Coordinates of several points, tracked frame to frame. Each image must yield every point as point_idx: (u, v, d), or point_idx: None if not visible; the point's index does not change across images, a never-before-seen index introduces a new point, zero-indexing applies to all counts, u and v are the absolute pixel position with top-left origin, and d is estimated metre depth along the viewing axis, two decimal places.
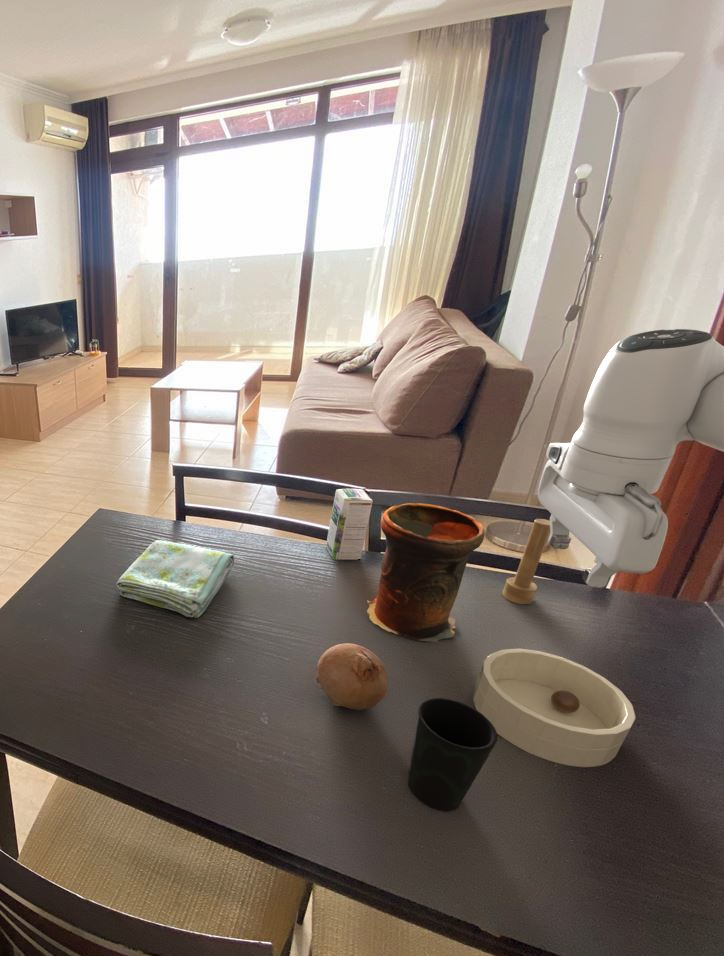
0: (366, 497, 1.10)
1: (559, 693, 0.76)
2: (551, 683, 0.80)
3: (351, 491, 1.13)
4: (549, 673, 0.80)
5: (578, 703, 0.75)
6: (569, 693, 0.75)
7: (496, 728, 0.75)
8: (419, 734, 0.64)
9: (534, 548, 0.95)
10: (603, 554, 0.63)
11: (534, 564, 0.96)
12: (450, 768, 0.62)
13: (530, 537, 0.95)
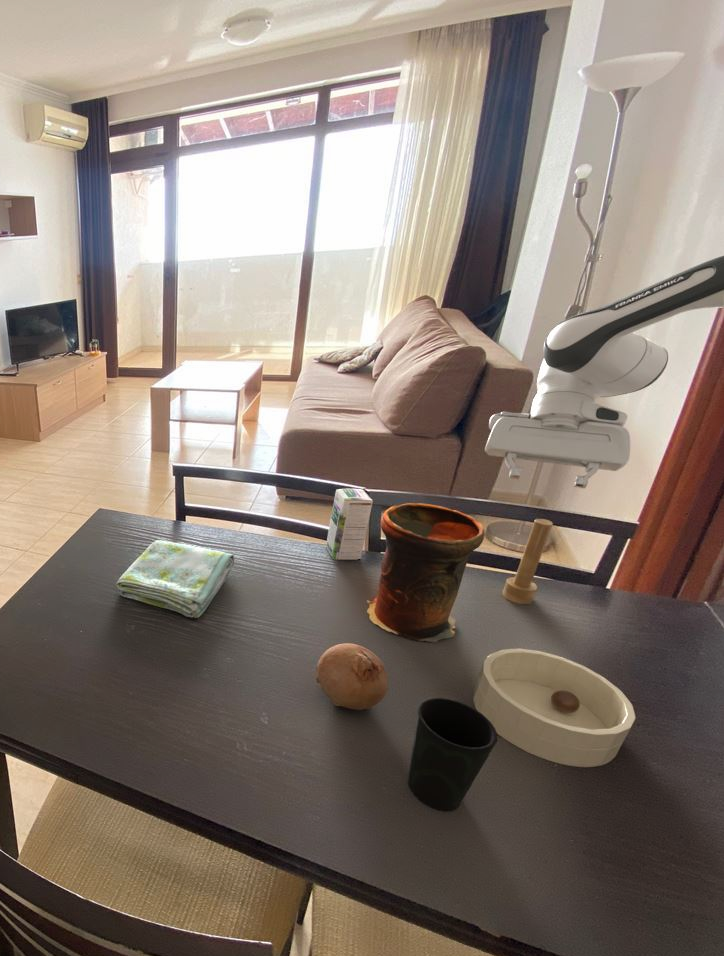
0: (366, 497, 1.10)
1: (559, 693, 0.76)
2: (551, 683, 0.80)
3: (351, 491, 1.13)
4: (549, 673, 0.80)
5: (578, 703, 0.75)
6: (569, 693, 0.75)
7: (496, 728, 0.75)
8: (419, 734, 0.64)
9: (534, 548, 0.95)
10: None
11: (534, 564, 0.96)
12: (450, 768, 0.62)
13: (530, 537, 0.95)
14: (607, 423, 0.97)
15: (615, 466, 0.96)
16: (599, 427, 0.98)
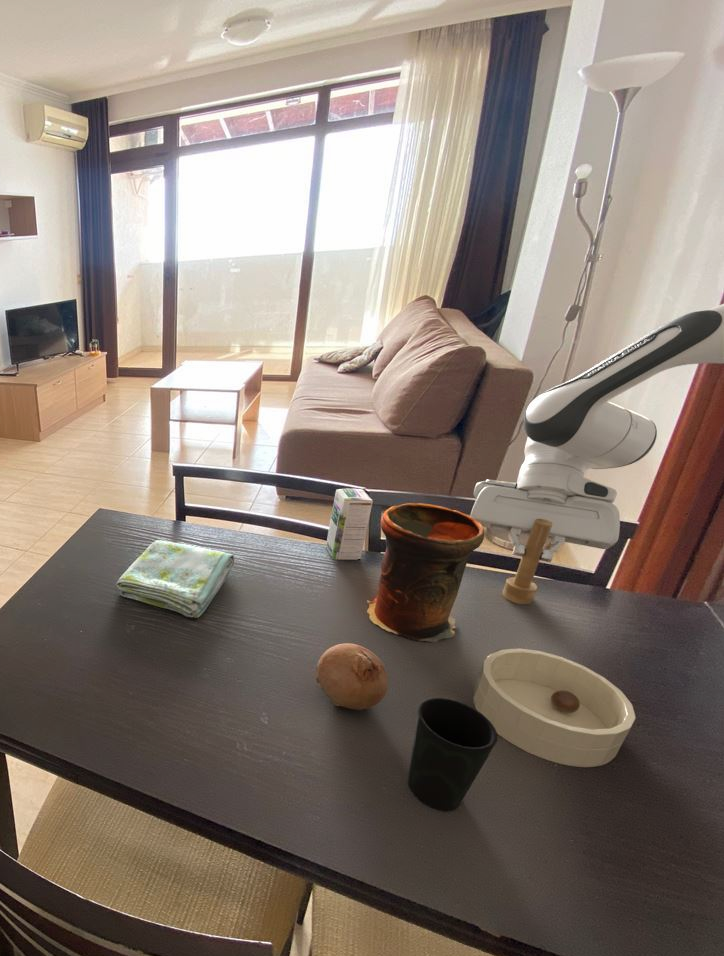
0: (366, 497, 1.10)
1: (559, 693, 0.76)
2: (551, 683, 0.80)
3: (351, 491, 1.13)
4: (549, 673, 0.80)
5: (578, 703, 0.75)
6: (569, 693, 0.75)
7: (496, 728, 0.75)
8: (419, 734, 0.64)
9: (534, 547, 0.95)
10: None
11: (534, 564, 0.96)
12: (450, 768, 0.62)
13: (530, 537, 0.95)
14: (596, 499, 0.93)
15: (604, 545, 0.92)
16: (587, 503, 0.93)
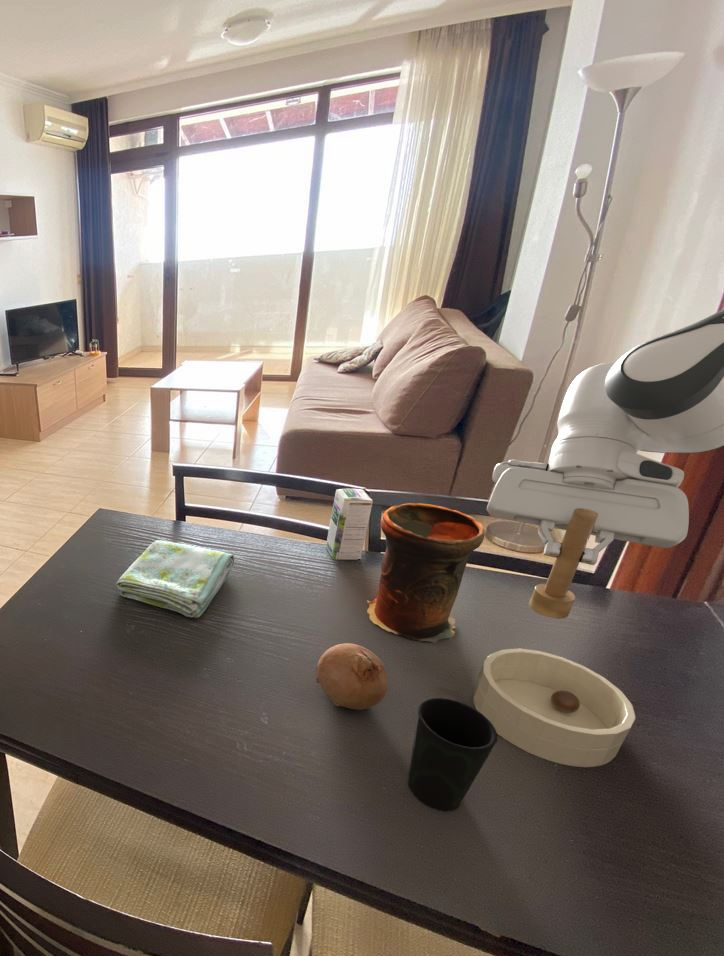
0: (366, 497, 1.10)
1: (559, 693, 0.76)
2: (551, 683, 0.80)
3: (351, 491, 1.13)
4: (549, 673, 0.80)
5: (578, 703, 0.75)
6: (569, 693, 0.75)
7: (496, 728, 0.75)
8: (419, 734, 0.64)
9: (573, 546, 0.73)
10: None
11: (572, 567, 0.74)
12: (450, 768, 0.62)
13: (567, 532, 0.73)
14: (655, 483, 0.71)
15: (667, 543, 0.70)
16: (644, 488, 0.71)
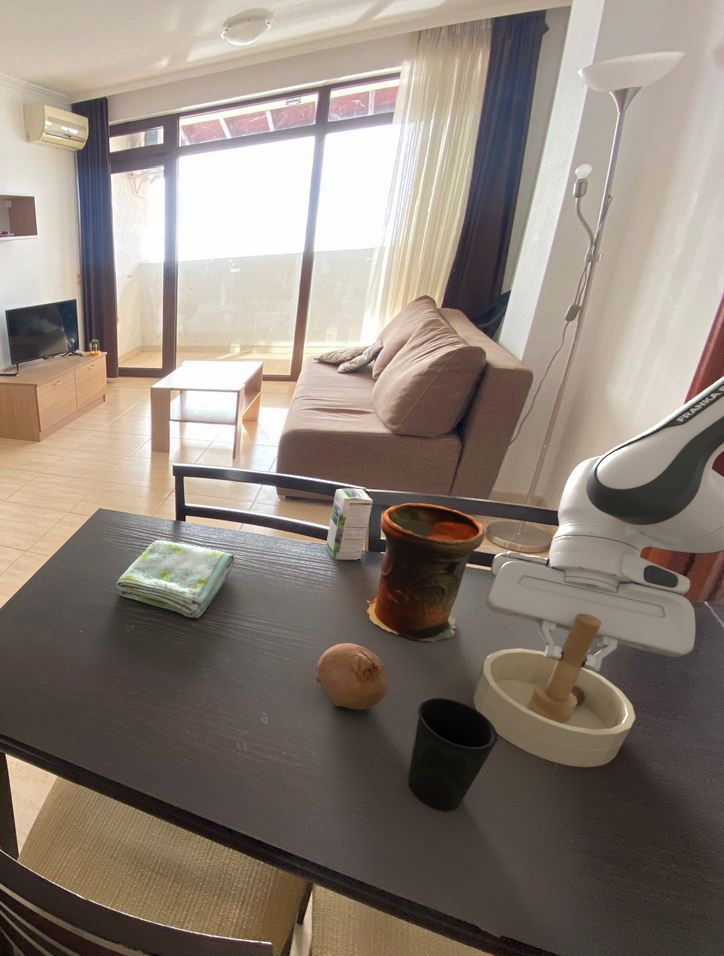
0: (366, 497, 1.10)
1: None
2: None
3: (351, 491, 1.13)
4: (549, 673, 0.80)
5: (584, 697, 0.76)
6: None
7: (496, 728, 0.75)
8: (419, 734, 0.64)
9: (575, 652, 0.70)
10: None
11: (574, 673, 0.71)
12: (450, 768, 0.62)
13: (569, 638, 0.71)
14: (660, 590, 0.68)
15: (672, 654, 0.67)
16: (648, 594, 0.69)
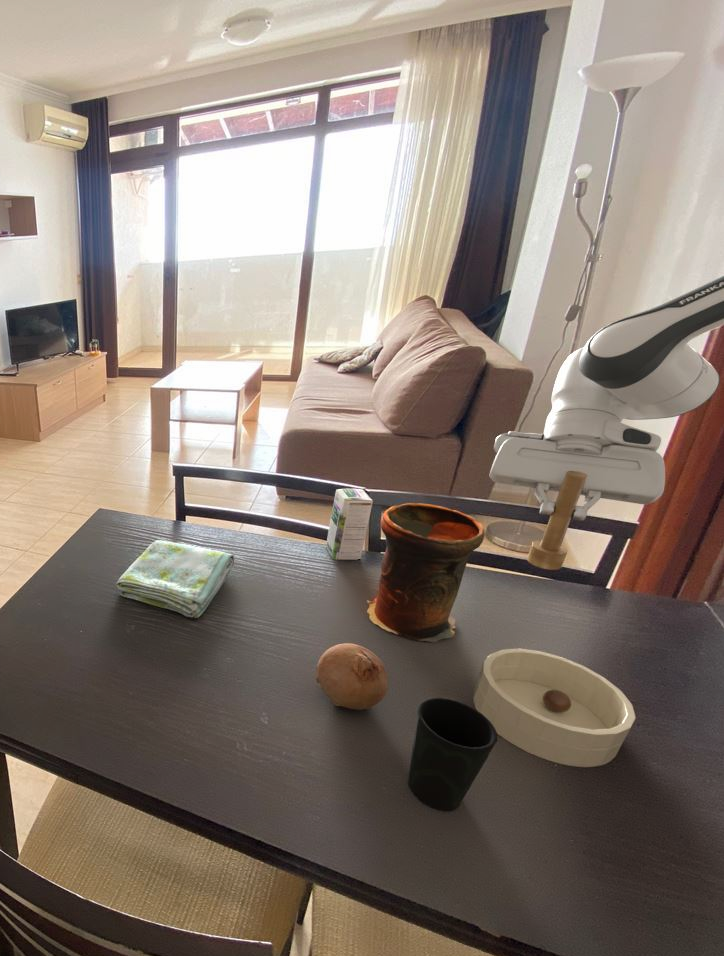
0: (366, 497, 1.10)
1: (545, 694, 0.77)
2: (551, 683, 0.80)
3: (351, 491, 1.13)
4: (549, 673, 0.80)
5: (564, 703, 0.75)
6: (553, 694, 0.76)
7: (496, 728, 0.75)
8: (419, 734, 0.64)
9: (565, 504, 0.83)
10: None
11: (565, 523, 0.84)
12: (450, 768, 0.62)
13: (561, 492, 0.84)
14: (636, 447, 0.81)
15: (646, 499, 0.80)
16: (626, 452, 0.82)
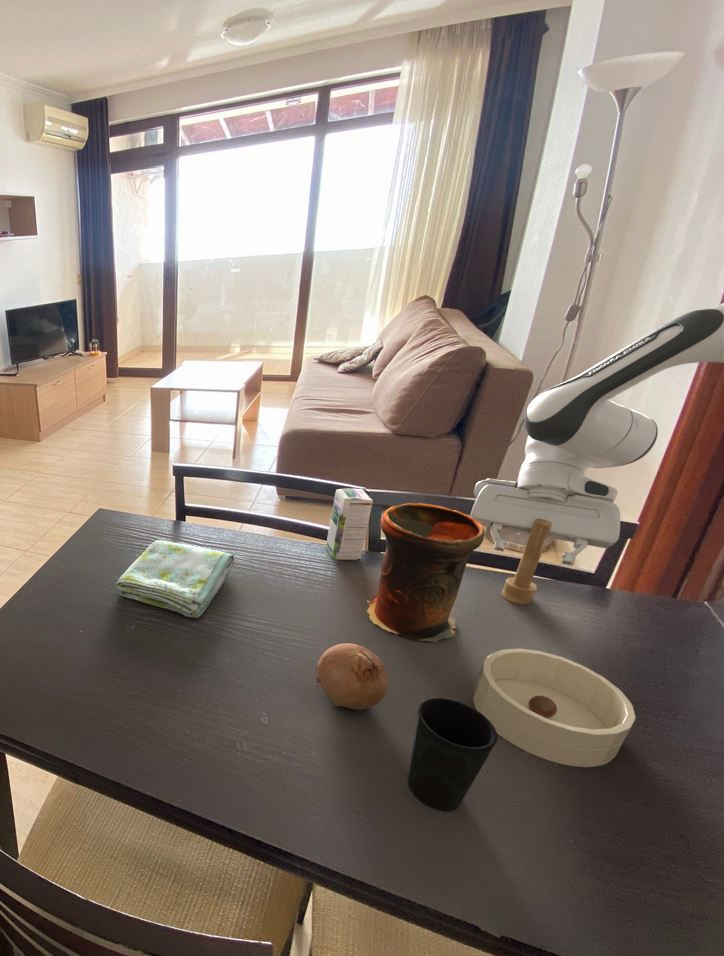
0: (366, 497, 1.10)
1: None
2: (551, 683, 0.80)
3: (351, 491, 1.13)
4: (549, 673, 0.80)
5: (545, 717, 0.75)
6: None
7: (496, 728, 0.75)
8: (419, 734, 0.64)
9: (534, 547, 0.95)
10: None
11: (534, 564, 0.96)
12: (450, 768, 0.62)
13: (530, 537, 0.95)
14: (596, 498, 0.93)
15: (604, 544, 0.92)
16: (588, 502, 0.93)
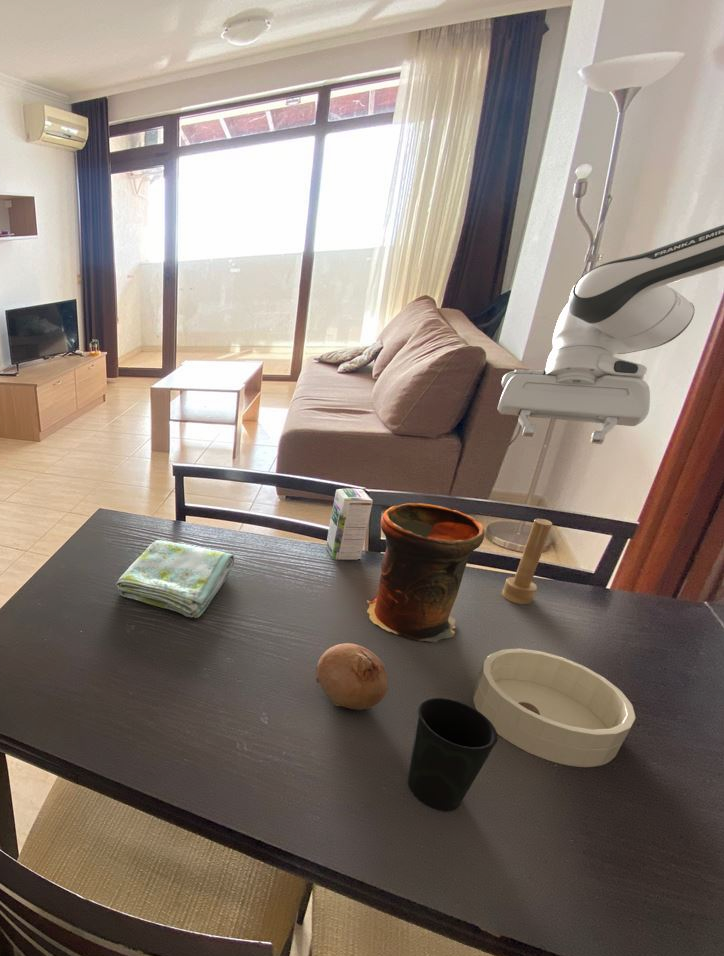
0: (366, 497, 1.10)
1: None
2: (551, 683, 0.80)
3: (351, 491, 1.13)
4: (549, 673, 0.80)
5: None
6: None
7: (496, 728, 0.75)
8: (419, 734, 0.64)
9: (534, 547, 0.95)
10: None
11: (534, 564, 0.96)
12: (450, 768, 0.62)
13: (530, 537, 0.95)
14: (625, 376, 0.94)
15: (634, 420, 0.93)
16: (617, 381, 0.94)
